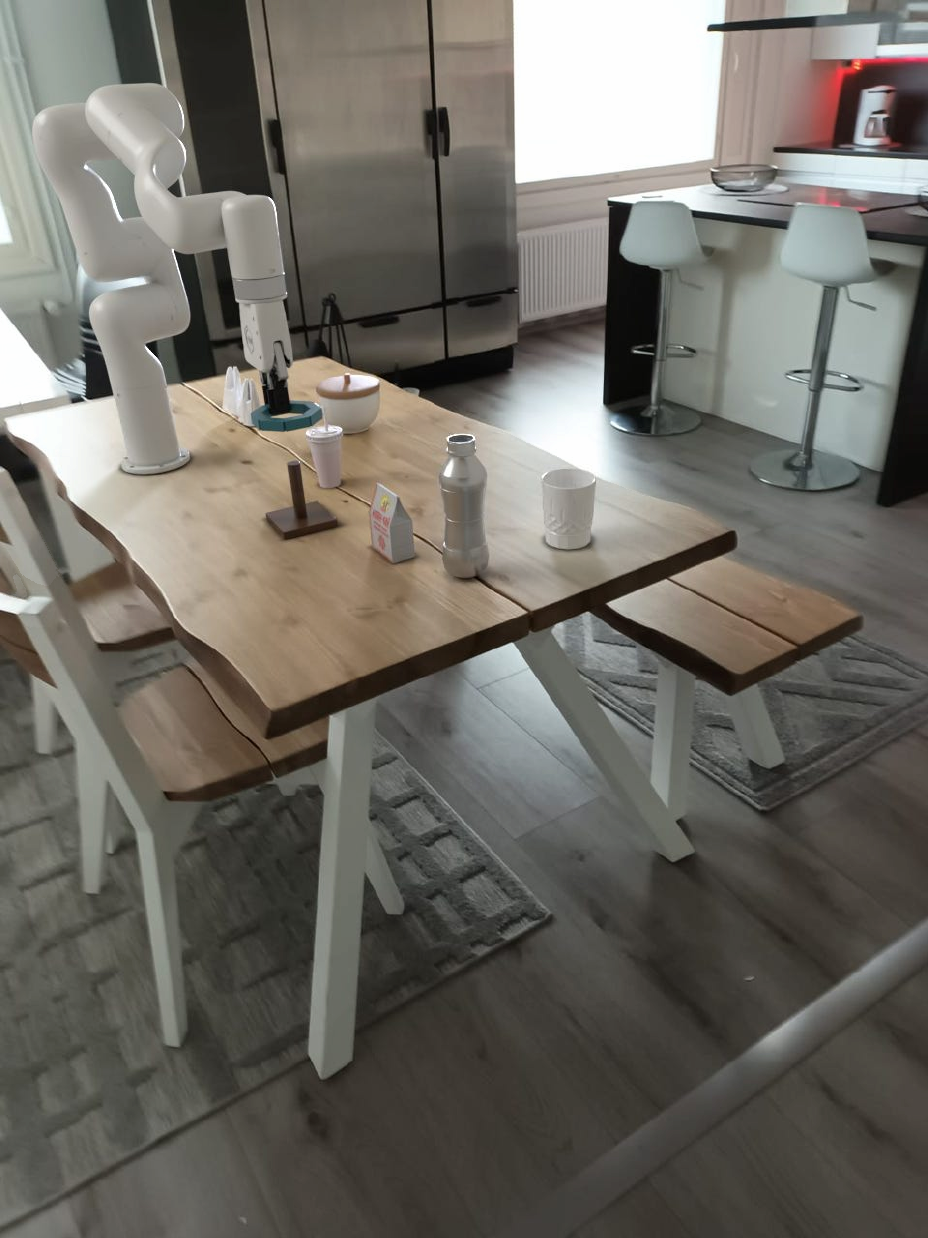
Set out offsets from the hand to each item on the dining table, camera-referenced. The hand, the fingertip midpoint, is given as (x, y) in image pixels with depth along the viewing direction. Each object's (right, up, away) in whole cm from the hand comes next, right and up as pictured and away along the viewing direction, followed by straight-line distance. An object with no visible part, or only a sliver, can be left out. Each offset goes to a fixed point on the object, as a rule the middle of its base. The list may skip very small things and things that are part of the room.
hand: (278, 410), depth 147 cm
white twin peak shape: (-17, +9, +53) cm, 56 cm away
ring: (+2, -2, -3) cm, 4 cm away
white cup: (+45, -21, -4) cm, 49 cm away
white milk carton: (+18, -23, -5) cm, 29 cm away
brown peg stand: (+3, -17, +6) cm, 18 cm away
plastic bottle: (+29, -26, -12) cm, 41 cm away
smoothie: (+5, -9, +20) cm, 22 cm away
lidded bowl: (+6, +6, +46) cm, 46 cm away
